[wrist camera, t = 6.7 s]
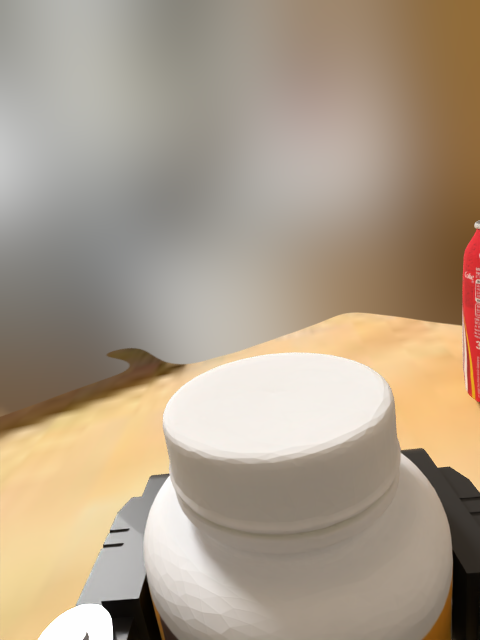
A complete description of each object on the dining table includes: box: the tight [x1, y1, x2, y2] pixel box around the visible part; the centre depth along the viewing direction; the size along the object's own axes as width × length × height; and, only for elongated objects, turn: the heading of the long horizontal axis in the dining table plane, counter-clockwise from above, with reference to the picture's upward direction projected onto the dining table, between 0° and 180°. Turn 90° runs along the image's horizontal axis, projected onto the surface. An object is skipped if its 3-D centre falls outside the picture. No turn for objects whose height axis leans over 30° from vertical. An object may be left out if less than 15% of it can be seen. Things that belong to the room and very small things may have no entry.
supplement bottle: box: [144, 353, 453, 640], centre depth 8 cm, size 6×6×10 cm
